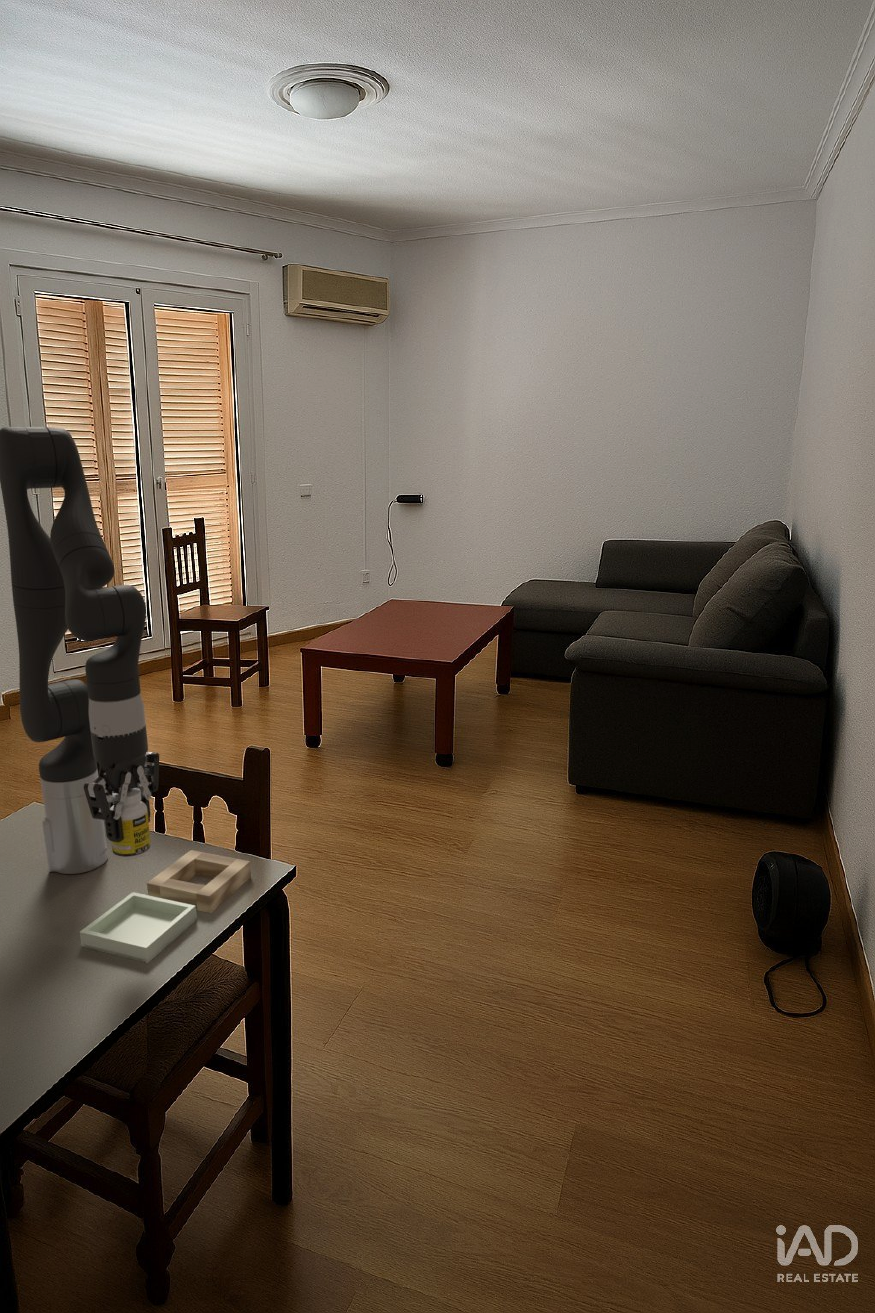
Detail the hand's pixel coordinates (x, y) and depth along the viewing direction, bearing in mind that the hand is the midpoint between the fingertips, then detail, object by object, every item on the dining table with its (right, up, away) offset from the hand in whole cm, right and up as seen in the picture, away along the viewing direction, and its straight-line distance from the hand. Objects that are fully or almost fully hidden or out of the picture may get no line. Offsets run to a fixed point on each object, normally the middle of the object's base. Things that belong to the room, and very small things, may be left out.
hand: (129, 831), depth 130 cm
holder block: (+6, -13, +17) cm, 22 cm away
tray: (0, -17, +5) cm, 17 cm away
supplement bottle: (0, -4, +1) cm, 4 cm away
